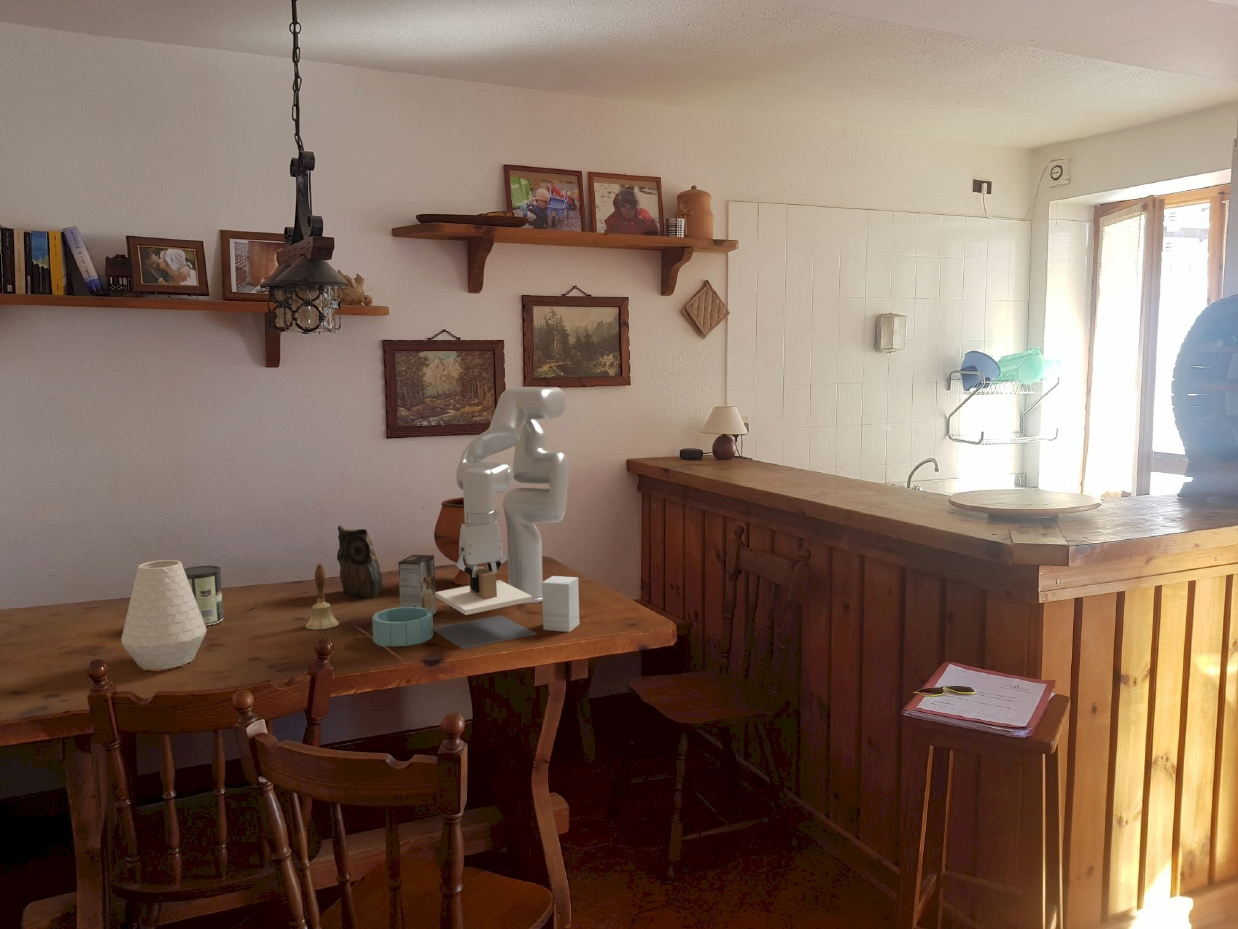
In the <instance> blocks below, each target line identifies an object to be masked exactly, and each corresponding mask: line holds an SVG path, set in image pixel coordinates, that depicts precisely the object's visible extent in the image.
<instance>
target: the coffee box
mask: <svg viewBox="0 0 1238 929" xmlns="http://www.w3.org/2000/svg"><path fill="white" fill-rule="evenodd" d="M397 563H398V564H397V565H398V582H399V583H398V584H399V602H400V603H399V604H400V606H399V607H420V608H426V609H429V610H430V611H432V612H433V615H434V614H436V613H437V597H435V592H436V578H435V576H436V573H435V570H436V569H435V555H434V554H412V555H410V556H408V557H406V558H403V559H402V560H400V561H398V562H397Z"/></svg>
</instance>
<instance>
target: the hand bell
mask: <svg viewBox="0 0 1238 929" xmlns="http://www.w3.org/2000/svg"><path fill="white" fill-rule="evenodd" d="M314 582H315V585H316V590H317V596H316V597H317V602H316V603H315V604H313V605H312V607H311V616H310V617H309V618H310V619H309V620H308V622H306V624H305V628H306V629H307V628H308V629H307V630H311V629H313V630H312V631H320V630H321V631H322V630H330V629H332V628H336V627H337V626H339V624H340V622H339V620H337V619H336V618H335V615H333V611H332V608H331V604H330V603H329V602H326V601H325V590H324V589H325V583H326V572H325V570H324V567H323V564H321V563H320V564H319V563H318V564H316V569H315V571H314Z"/></svg>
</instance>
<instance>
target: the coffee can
mask: <svg viewBox="0 0 1238 929" xmlns="http://www.w3.org/2000/svg"><path fill="white" fill-rule="evenodd" d="M221 570H222V569H221V567H220V566H218V565H199V566H198V565H196V566H191V567H186V568H184V571H185V574H186V576H187V579H188V581H189V584H190V587H191V589H192V592H193V594H194V597H195V600H196V602H197V605H198V608H199V610H200V613H201V615H202V618H203V621H204V623H205V626H206V625H211V624H216V623H219V622H220V621H222V620H223V619H224V607H223V595H222V594H223V592H222V578H221ZM224 620H225V619H224ZM219 624H220V623H219Z"/></svg>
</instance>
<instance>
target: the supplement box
mask: <svg viewBox="0 0 1238 929" xmlns="http://www.w3.org/2000/svg"><path fill="white" fill-rule="evenodd" d="M543 581H544V582H542V622H543V623H542V624H543V628H542V629H543V631H544V630H546V631H555V632H565V633H566V632H568V633H569V632H571V631H572V630H574V629H575V628H577V627H578V626H579V625H580V600H579V598H580V597H579V596H580V595H579V594H580V590H579V577H575V576H560V575H559V576H558V575H551V576H550V577H549V578H547V579H545V580H543Z"/></svg>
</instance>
